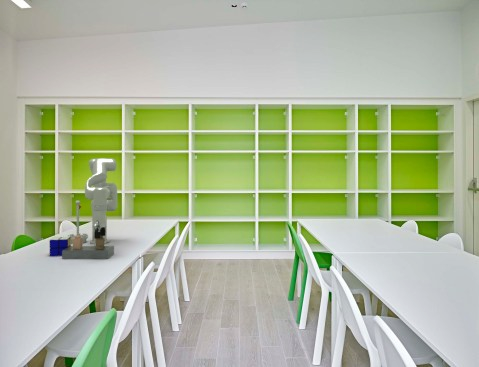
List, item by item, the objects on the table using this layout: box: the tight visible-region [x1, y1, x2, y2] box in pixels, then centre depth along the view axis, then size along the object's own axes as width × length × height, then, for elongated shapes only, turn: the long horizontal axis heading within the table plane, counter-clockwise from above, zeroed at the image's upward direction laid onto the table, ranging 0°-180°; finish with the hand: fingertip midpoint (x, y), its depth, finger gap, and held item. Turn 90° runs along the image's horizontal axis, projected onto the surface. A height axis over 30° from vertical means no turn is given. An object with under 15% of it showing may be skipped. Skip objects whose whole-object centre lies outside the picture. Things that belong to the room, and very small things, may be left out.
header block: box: [61, 245, 115, 260], centre depth 210 cm, size 12×26×5 cm, turn 94°
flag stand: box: [67, 200, 89, 245], centre depth 249 cm, size 13×13×30 cm
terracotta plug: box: [72, 236, 83, 249], centre depth 210 cm, size 4×4×11 cm
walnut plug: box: [95, 236, 106, 249], centre depth 211 cm, size 4×4×11 cm
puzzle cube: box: [49, 235, 72, 257], centre depth 215 cm, size 10×10×10 cm
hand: (100, 237), depth 210 cm, fingers open, 9 cm apart
